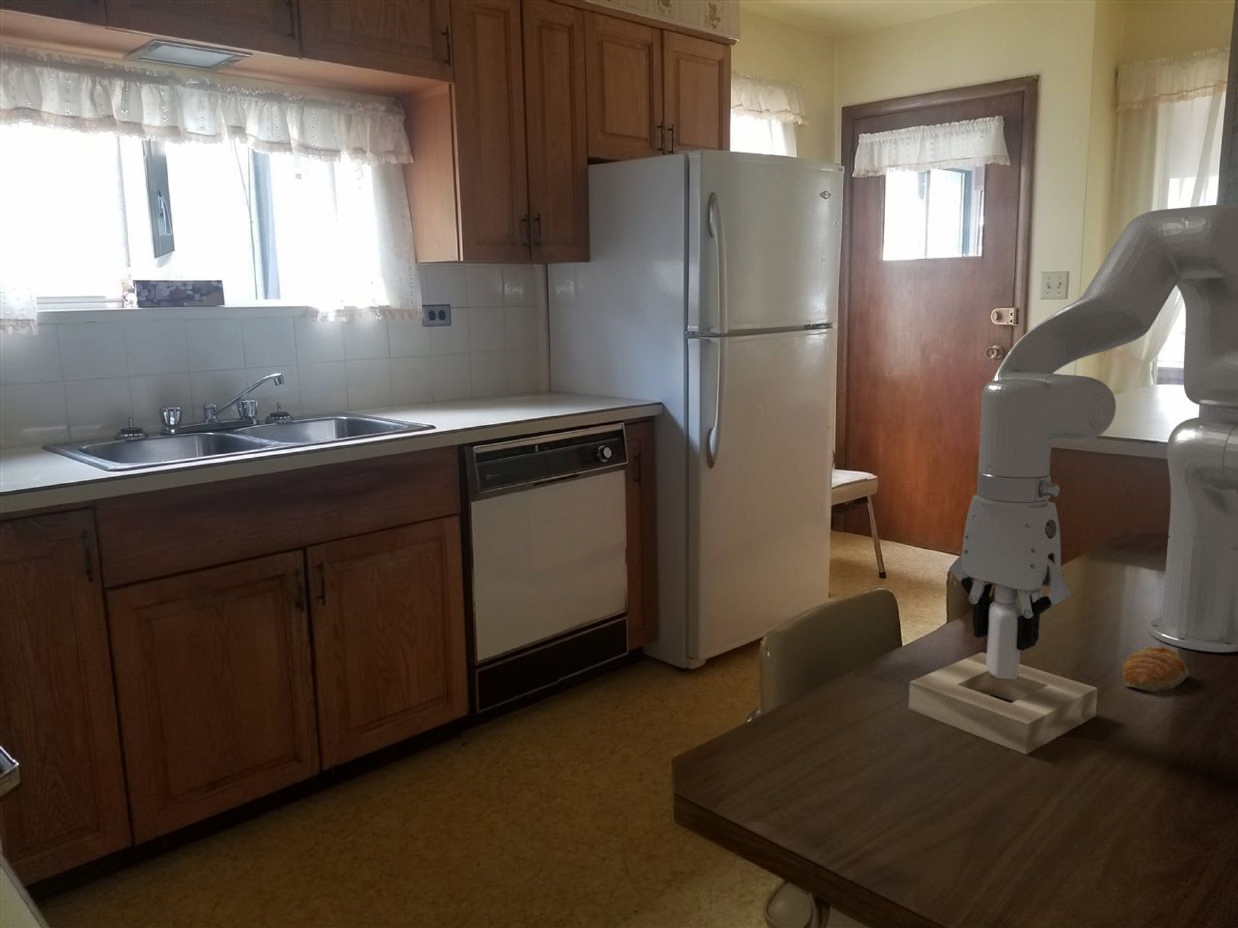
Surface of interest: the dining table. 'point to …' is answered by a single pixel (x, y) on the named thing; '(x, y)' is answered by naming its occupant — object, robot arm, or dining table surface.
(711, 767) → the dining table surface
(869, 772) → the dining table surface
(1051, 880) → the dining table surface
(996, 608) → the eye dropper bottle
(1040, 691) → the rectangular frame
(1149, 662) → the pastry
